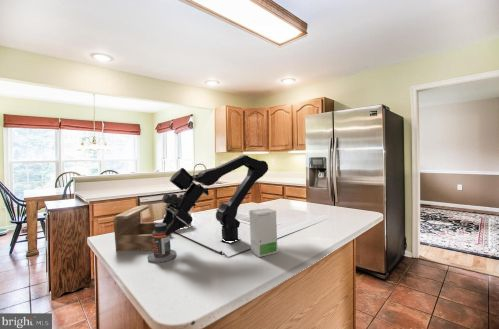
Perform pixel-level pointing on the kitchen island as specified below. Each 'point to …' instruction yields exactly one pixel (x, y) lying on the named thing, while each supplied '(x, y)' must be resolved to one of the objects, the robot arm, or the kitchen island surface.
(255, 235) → the skincare box
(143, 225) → the walnut crate
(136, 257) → the kitchen island surface
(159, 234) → the supplement bottle
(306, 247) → the kitchen island surface
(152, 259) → the slate coaster
